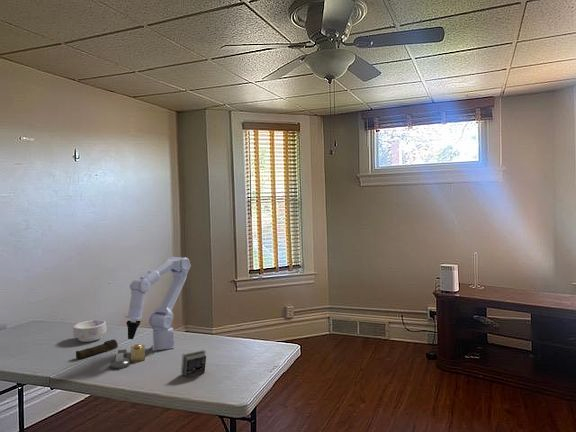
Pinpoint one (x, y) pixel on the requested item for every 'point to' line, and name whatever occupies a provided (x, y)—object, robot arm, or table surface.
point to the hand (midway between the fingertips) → (130, 338)
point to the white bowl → (89, 330)
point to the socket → (137, 352)
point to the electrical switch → (193, 363)
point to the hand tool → (97, 349)
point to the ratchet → (120, 361)
